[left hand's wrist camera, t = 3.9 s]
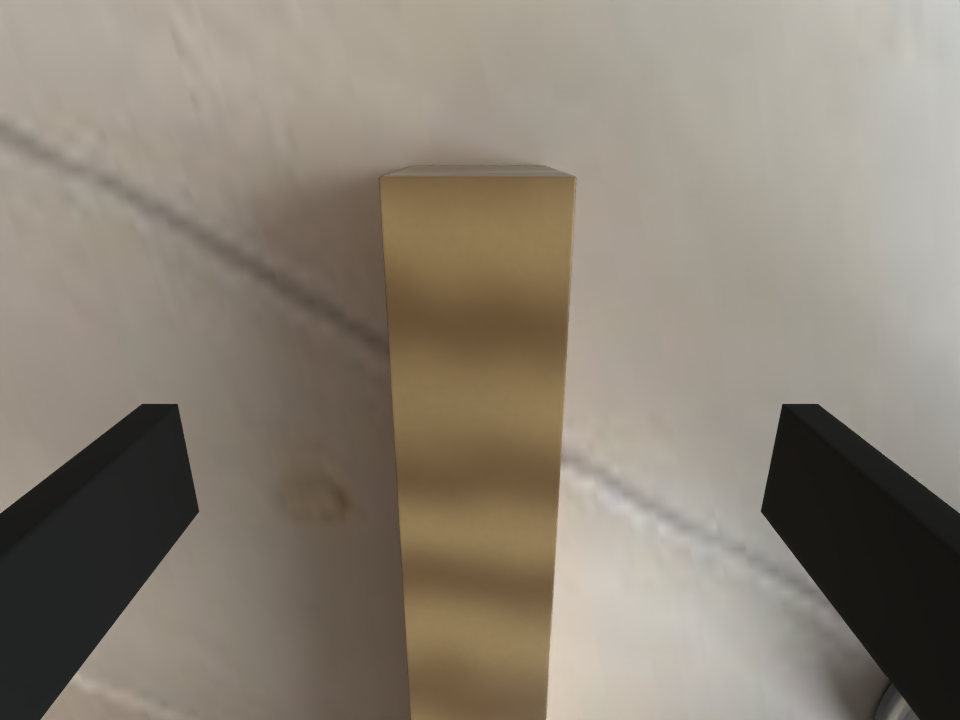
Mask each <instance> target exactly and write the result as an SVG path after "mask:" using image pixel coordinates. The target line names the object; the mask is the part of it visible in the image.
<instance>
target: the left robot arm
mask: <svg viewBox="0 0 960 720" xmlns="http://www.w3.org/2000/svg"><path fill="white" fill-rule="evenodd" d="M198 512H199V509H198V504H197V499H196V494H195V489H194V484H193V479H192V474H191V469H190V464H189V459H188V454H187V449H186V444H185V439H184V434H183V429H182V424H181V419H180V414H179V409H178V404H142V405H140V406H139V407H138V408H136V409H135V410H134V411H133V412H131V413H130V414H129V415H127V416H126V417H125V418H124V419H122V420H121V421H120V422H118V423H117V424H116V425H114V426H113V427H112V428H111V429H109V430H108V431H107V432H105V433H104V434H103V435H102V436H100V437H99V438H98V439H96V440H95V441H94V442H92V443H91V444H90V445H89V446H87V447H86V448H85V449H83V450H82V451H81V452H79V453H78V454H77V455H76V456H74V457H73V458H72V459H70V460H69V461H68V462H67V463H65V464H64V465H63V466H61V467H60V468H59V469H57V470H56V471H55V472H54V473H52V474H51V475H50V476H48V477H47V478H46V479H45V480H43V481H42V482H41V483H39V484H38V485H37V486H35V487H34V488H33V489H32V490H30V491H29V492H28V493H26V494H25V495H24V496H22V497H21V498H20V499H19V500H17V501H16V502H15V503H13V504H12V505H11V506H10V507H8V508H7V509H6V510H4V511H3V512H2V513H0V720H40V719H41V718H42V717H43V715H44V714H45V713H46V711H47V710H48V709H49V708H50V706H51V705H52V704H53V702H54V701H55V700H56V698H57V697H58V696H59V694H60V693H61V692H62V690H63V689H64V688H65V687H66V685H67V684H68V683H69V681H70V680H71V679H72V677H73V676H74V675H75V673H76V672H77V671H78V670H79V668H80V667H81V666H82V664H83V663H84V662H85V660H86V659H87V658H88V656H89V655H90V654H91V652H92V651H93V650H94V649H95V647H96V646H97V645H98V643H99V642H100V641H101V639H102V638H103V637H104V635H105V634H106V633H107V632H108V630H109V629H110V628H111V626H112V625H113V624H114V622H115V621H116V620H117V618H118V617H119V616H120V614H121V613H122V612H123V611H124V609H125V608H126V607H127V605H128V604H129V603H130V601H131V600H132V599H133V597H134V596H135V595H136V593H137V592H138V591H139V590H140V588H141V587H142V586H143V584H144V583H145V582H146V580H147V579H148V578H149V576H150V575H151V574H152V573H153V571H154V570H155V569H156V567H157V566H158V565H159V563H160V562H161V561H162V559H163V558H164V557H165V555H166V554H167V553H168V552H169V550H170V549H171V548H172V546H173V545H174V544H175V542H176V541H177V540H178V538H179V537H180V536H181V535H182V533H183V532H184V531H185V529H186V528H187V527H188V525H189V524H190V523H191V521H192V520H193V519H194V517H195V516H196V515H197V514H198ZM761 512H762V514H763V515H764V516H765V517H766V519H767V520H768V521H769V523H770V524H771V525H772V527H773V528H774V529H775V531H776V532H777V533H778V535H779V536H780V537H781V538H782V540H783V541H784V542H785V544H786V545H787V546H788V548H789V549H790V550H791V552H792V553H793V554H794V555H795V557H796V558H797V559H798V561H799V562H800V563H801V565H802V566H803V567H804V569H805V570H806V571H807V573H808V574H809V575H810V576H811V578H812V579H813V580H814V582H815V583H816V584H817V586H818V587H819V588H820V590H821V591H822V592H823V593H824V595H825V596H826V597H827V599H828V600H829V601H830V603H831V604H832V605H833V607H834V608H835V609H836V611H837V612H838V613H839V614H840V616H841V617H842V618H843V620H844V621H845V622H846V624H847V625H848V626H849V628H850V629H851V630H852V632H853V633H854V634H855V635H856V637H857V638H858V639H859V641H860V642H861V643H862V645H863V646H864V647H865V649H866V650H867V651H868V652H869V654H870V655H871V656H872V658H873V659H874V660H875V662H876V663H877V664H878V666H879V667H880V668H881V670H882V671H883V672H884V673H885V675H886V676H887V677H888V679H889V680H890V681H891V683H892V684H891V685H890V687H889V688H888V690H887V691H886V693H885V694H884V696H883V698H882V700H881V702H880V704H879V706H878V709H877V712H876V715H875V719H874V720H960V513H958V512H957V511H956V510H954V509H953V508H952V507H950V506H949V505H948V504H947V503H945V502H944V501H943V500H941V499H940V498H939V497H938V496H936V495H935V494H934V493H932V492H931V491H930V490H928V489H927V488H926V487H925V486H923V485H922V484H921V483H919V482H918V481H917V480H915V479H914V478H913V477H912V476H910V475H909V474H908V473H906V472H905V471H904V470H903V469H901V468H900V467H899V466H897V465H896V464H895V463H893V462H892V461H891V460H890V459H888V458H887V457H886V456H884V455H883V454H882V453H881V452H879V451H878V450H877V449H875V448H874V447H873V446H871V445H870V444H869V443H868V442H866V441H865V440H864V439H862V438H861V437H860V436H858V435H857V434H856V433H855V432H853V431H852V430H851V429H849V428H848V427H847V426H846V425H844V424H843V423H842V422H840V421H839V420H838V419H836V418H835V417H834V416H833V415H831V414H830V413H829V412H827V411H826V410H825V409H824V408H822V407H821V406H820V405H818V404H782V409H781V414H780V419H779V424H778V429H777V434H776V439H775V444H774V449H773V454H772V459H771V464H770V469H769V474H768V479H767V484H766V489H765V494H764V499H763V504H762V509H761Z"/></svg>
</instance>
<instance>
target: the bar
mask: <svg viewBox="0 0 960 720" xmlns="http://www.w3.org/2000/svg"><path fill="white" fill-rule="evenodd" d="M379 187H380V204H381V221H382V238H383V256H384V273H385V290H386V307H387V324H388V341H389V358H390V375H391V392H392V409H393V426H394V444H395V461H396V478H397V495H398V512H399V529H400V546H401V563H402V580H403V597H404V615H405V632H406V649H407V666H408V683H409V700H410V717H411V720H546V717H547V699H548V681H549V663H550V645H551V627H552V609H553V591H554V573H555V555H556V537H557V519H558V501H559V483H560V465H561V447H562V429H563V411H564V393H565V375H566V357H567V339H568V321H569V303H570V285H571V267H572V249H573V231H574V212H575V194H576V177H575V176H573V175H570V174H567V173H564V172H561V171H558V170H555V169H552V168H550V167H547V166H410V167H407V168H404V169H401V170H398V171H395V172H392V173H389V174H386V175H383V176H380V177H379Z"/></svg>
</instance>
